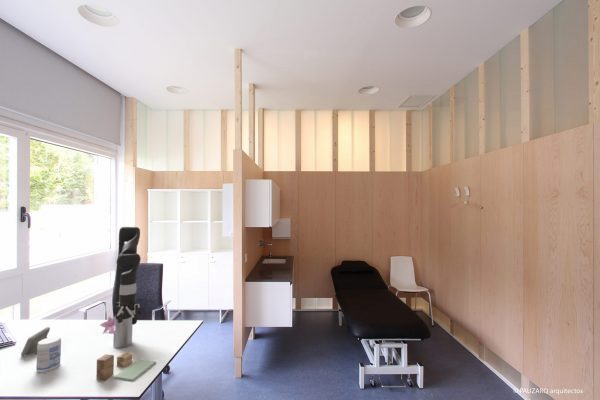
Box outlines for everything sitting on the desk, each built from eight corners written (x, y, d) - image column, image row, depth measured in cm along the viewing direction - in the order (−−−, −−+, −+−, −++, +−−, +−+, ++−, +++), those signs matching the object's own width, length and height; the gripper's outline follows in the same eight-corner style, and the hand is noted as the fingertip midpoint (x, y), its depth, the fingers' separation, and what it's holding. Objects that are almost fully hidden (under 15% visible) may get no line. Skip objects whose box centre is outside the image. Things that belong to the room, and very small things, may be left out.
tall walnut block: (96, 379, 135) (96, 359, 135) (105, 373, 140) (105, 354, 140) (104, 381, 134) (105, 360, 134) (113, 374, 139) (113, 355, 139)
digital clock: (41, 343, 171) (42, 326, 171) (56, 343, 171) (56, 326, 171) (14, 357, 154) (15, 338, 155) (30, 357, 155) (31, 338, 155)
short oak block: (116, 366, 147) (117, 356, 147) (124, 361, 152) (124, 352, 152) (124, 367, 146) (124, 357, 146) (131, 362, 151) (132, 353, 151)
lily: (98, 332, 188) (95, 323, 184) (115, 320, 198) (113, 311, 193) (110, 340, 184) (107, 331, 180) (126, 327, 194) (124, 318, 190)
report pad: (114, 378, 136) (114, 376, 136) (138, 360, 152) (138, 359, 152) (133, 381, 134) (133, 379, 134) (155, 363, 150) (155, 361, 150)
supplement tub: (52, 371, 141) (53, 343, 141) (31, 374, 139) (32, 345, 139) (64, 361, 150) (65, 335, 151) (44, 363, 148) (45, 336, 149)
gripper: (110, 293, 139) (109, 325, 138) (133, 295, 136) (133, 327, 135) (122, 289, 146) (121, 319, 146) (145, 290, 143) (144, 321, 143)
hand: (127, 323), depth 141 cm, fingers open, 8 cm apart
